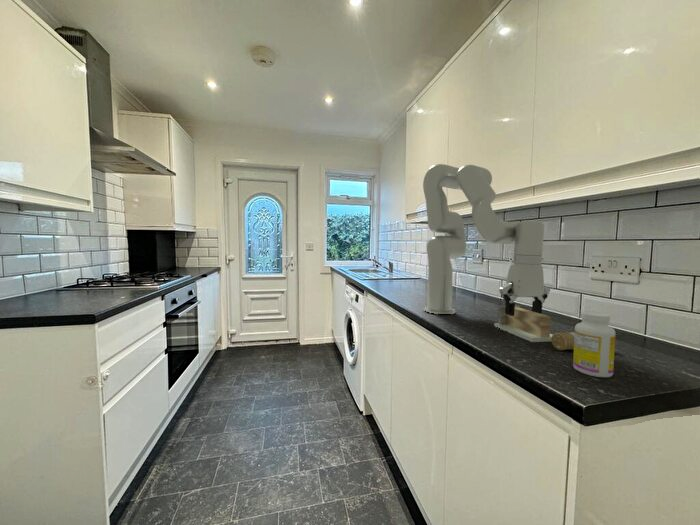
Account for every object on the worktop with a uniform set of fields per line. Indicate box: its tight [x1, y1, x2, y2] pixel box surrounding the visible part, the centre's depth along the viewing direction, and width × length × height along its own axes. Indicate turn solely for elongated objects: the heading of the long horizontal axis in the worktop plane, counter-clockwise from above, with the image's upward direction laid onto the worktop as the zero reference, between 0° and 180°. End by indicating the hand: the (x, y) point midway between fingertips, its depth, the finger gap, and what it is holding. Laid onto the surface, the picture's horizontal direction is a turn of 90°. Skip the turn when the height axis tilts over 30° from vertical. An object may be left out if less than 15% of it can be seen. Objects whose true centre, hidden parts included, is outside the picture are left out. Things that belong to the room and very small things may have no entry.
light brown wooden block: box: [498, 305, 552, 337], centre depth 88 cm, size 15×7×6 cm, turn 9°
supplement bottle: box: [572, 310, 616, 378], centre depth 61 cm, size 7×7×13 cm
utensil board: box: [493, 322, 554, 343], centre depth 89 cm, size 16×9×1 cm, turn 9°
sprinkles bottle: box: [550, 331, 575, 351], centre depth 75 cm, size 5×5×13 cm
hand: (523, 314), depth 89 cm, fingers open, 9 cm apart
